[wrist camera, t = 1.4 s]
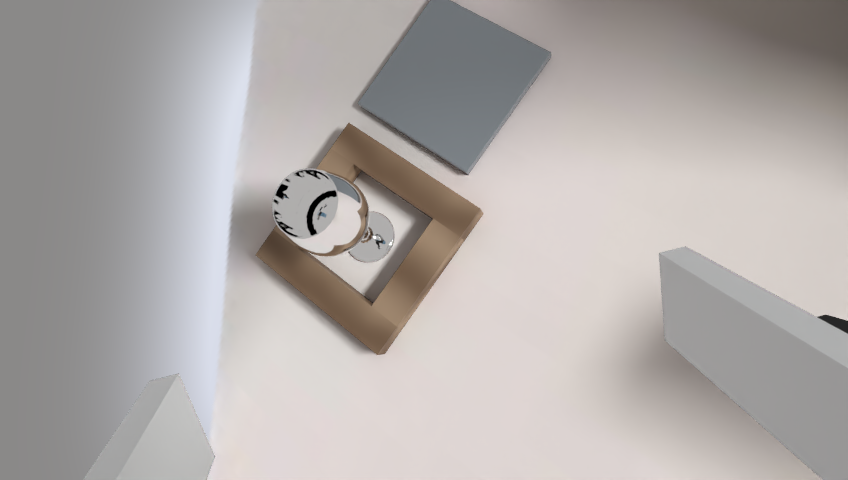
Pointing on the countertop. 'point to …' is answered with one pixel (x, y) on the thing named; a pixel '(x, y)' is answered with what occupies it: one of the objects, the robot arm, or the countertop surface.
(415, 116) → the coaster
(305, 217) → the wineglass
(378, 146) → the brown wooden square frame
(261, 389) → the countertop surface
